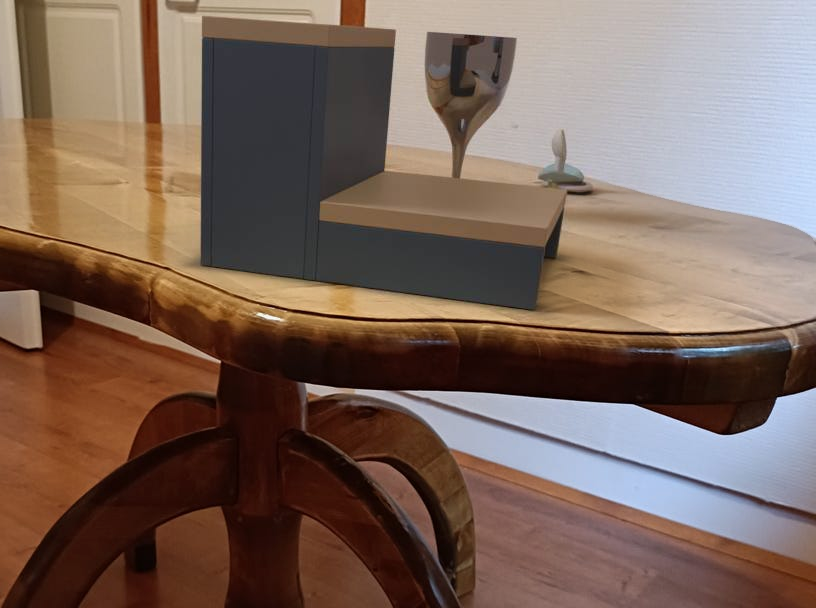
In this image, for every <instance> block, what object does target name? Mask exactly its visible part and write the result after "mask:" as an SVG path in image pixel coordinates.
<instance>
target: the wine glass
mask: <svg viewBox="0 0 816 608" xmlns="http://www.w3.org/2000/svg"><path fill="white" fill-rule="evenodd" d="M425 36H426V38H425V46H424V63H423V65H424V81H425V82H424V83H425V91H426V95H427V98H428V101H429V105H431V107H432V109H433V111H434V112H435V114H436V115H437V117H438V118H439V120H440V122H441V123H442V125H443V126H444V128H445V130H446V132H447V134H448V137H449V140H450V143H451V154H452V160H451V161H452V163H451V164H452V165H451V178H460V179H461V175H462V168H463V164H464V161H465V160H464V159H465V155H466V153H467V149H468V146H469V144H470V141H471V140H472V139H473V137H474V135H476V133H477V132H478V130H479V129H480V128H481V127H482V126H483V125H484V124H485V123H486V122H487V121H488V120H489V119H490V118H491V117H492V116H493V114H495V113H496V112H497V110H498V109H499V108H500V106H501V105H502V103H503V101H504V99H505V97H506V95H507V94H506V93H507V91H508V88H509V85H510V81H511V78H512V75H513V74H512V73H513V70H514V66H515V65H514V64H515V60H516V59H515V58H516V51H517V44H518V37H509V36H496V35H482V34H481V35H480V34H469V33H468V34H467V33H452V32H438V31H426V35H425Z"/></svg>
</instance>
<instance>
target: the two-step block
mask: <svg viewBox="0 0 816 608" xmlns="http://www.w3.org/2000/svg"><path fill="white" fill-rule="evenodd" d="M396 35H397V29H394V28H384V27H383V28H382V27H381V28H380V27H368V26H355V25H341V24H330V23H329V24H328V23H315V22H301V21H299V22H298V21H286V20H284V21H283V20H272V19H271V20H270V19H258V18H257V19H256V18H243V17H228V16H213V15H201V103H200V104H201V108H200V109H201V110H200V112H201V117H200V119H201V124H200V125H201V126H200V128H201V129H200V131H201V132H200V266H206V267H212V268H213V267H214V268H221V269H227V270H228V269H229V270H235V271H242V272H248V273H257V274H265V275H272V276H279V277H286V278H293V279H301V280H307V281H317V282H322V283H323V282H324V283H331V284H339V285H346V286H354V287H361V288H368V289H374V290H375V289H376V290H384V291H389V292H397V293H405V294H412V295H419V296H426V297H427V296H428V297H435V298H442V299H449V300H456V301H464V302H471V303H480V304H486V305H492V306H493V305H494V306H502V307H509V308H514V309H516V308H517V309H523V310H531V311H535V310H536V308H537V305H538V298H539V293H540V284H541V278H542V272H543V266H544V259H545V258H549V259H557V257H558V252H559V251H558V250H559V246H560V239H561V233H562V227H563V221H564V220H563V219H564V213H565V206H566V201H567V195H568V191H567V190H564V189H555V188H548V187H545V186H535V185H527V184H518V183H517V184H516V183H507V182H497V181H488V180H479V179H468V178H461V177H460V178H452V176H451V177H449V176H443V175H431V174H423V173H422V174H421V173H413V172H403V171H393V170H386V169H385V168H386V159H387V158H386V157H387V145H388V133H389V121H390V111H391V96H392V86H393V85H392V84H393V74H394V73H393V72H394V60H395V50H396V49H395V48H396Z"/></svg>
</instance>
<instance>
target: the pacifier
mask: <svg viewBox="0 0 816 608" xmlns="http://www.w3.org/2000/svg"><path fill="white" fill-rule="evenodd" d="M551 151H552V153H553V155H554V157H555V162H554V163H552V164H549V165H547V166H545V167H544V168H543V169H542V171H541V172H538V174H537V179H538V180H540V181H543V182H547V188H555V189H564V190H567V192H571V193H573V192H574V193H584V192H585V193H586V192H589V191H590V192H591V191H592V190H593V189H594V185H593V184H591V182H588V181H584V180H585V175H584V174H583V172H582V171H581V170H580V169H579V168H577V167H575V166H574V165H571V164H568V163H566V160H567V140H566V133H565V131H564V130H563V129H558V130H557V131H556V132H555V133H554V134H553V137H552V139H551Z"/></svg>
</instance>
